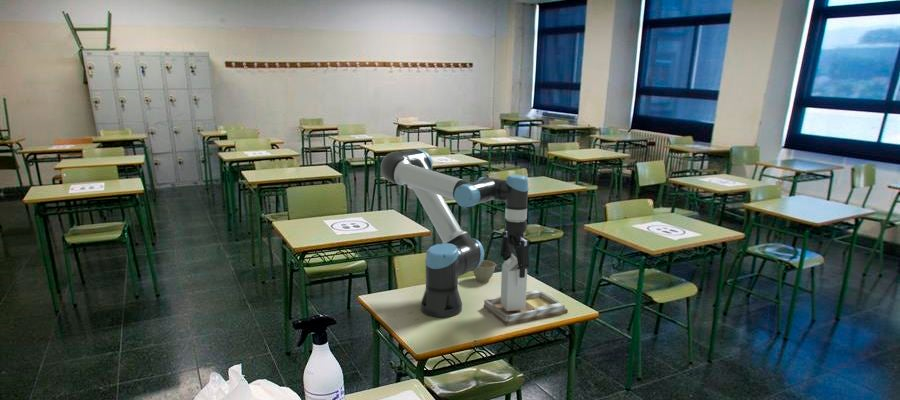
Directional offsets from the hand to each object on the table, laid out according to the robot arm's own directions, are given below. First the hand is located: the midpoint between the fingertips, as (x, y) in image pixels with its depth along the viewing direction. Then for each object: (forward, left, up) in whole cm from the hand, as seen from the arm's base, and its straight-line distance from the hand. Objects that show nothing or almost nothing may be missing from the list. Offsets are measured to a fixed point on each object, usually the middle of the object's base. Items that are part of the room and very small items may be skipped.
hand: (513, 281), depth 185 cm
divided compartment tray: (+4, +4, -12) cm, 13 cm away
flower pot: (-19, +28, -12) cm, 36 cm away
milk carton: (0, 0, -10) cm, 10 cm away
